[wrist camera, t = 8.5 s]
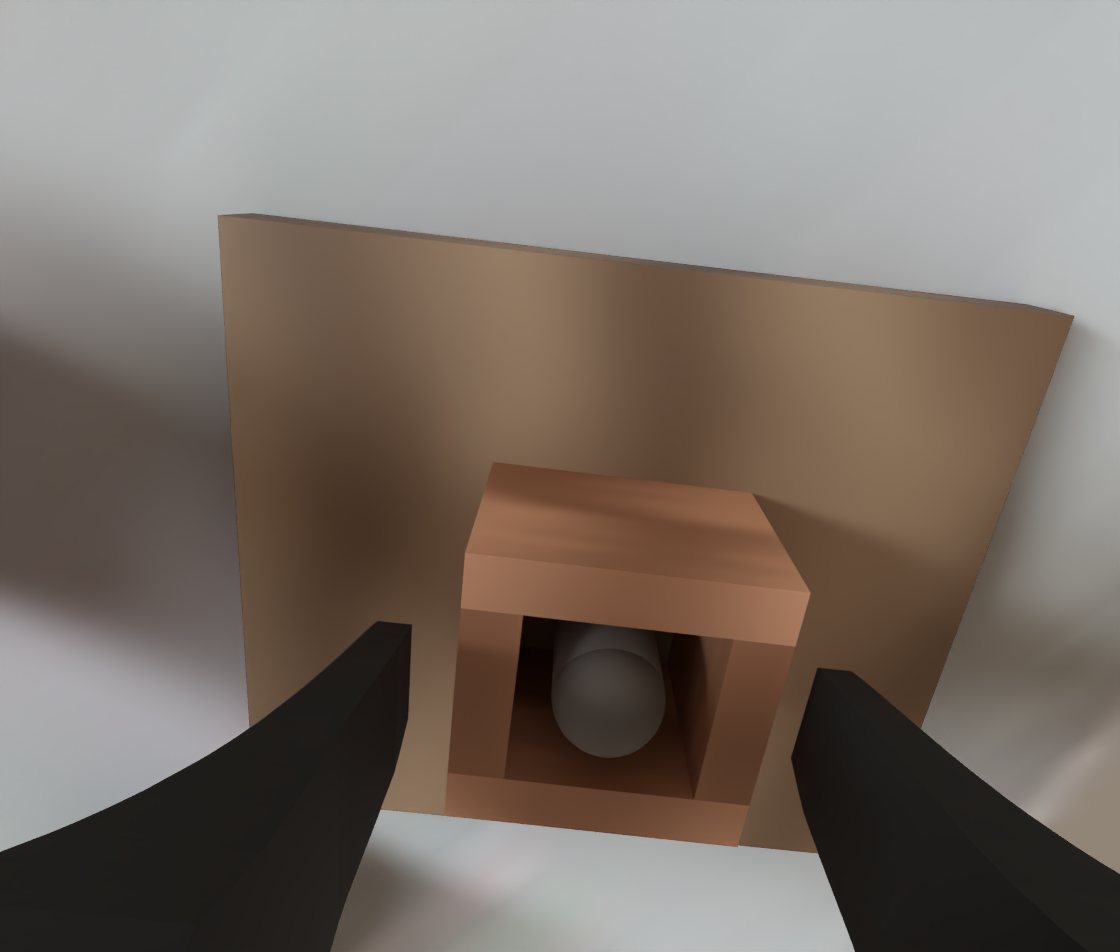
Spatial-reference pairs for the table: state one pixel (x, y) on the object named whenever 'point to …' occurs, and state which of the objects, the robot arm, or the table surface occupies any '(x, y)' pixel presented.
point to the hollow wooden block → (628, 601)
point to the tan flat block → (605, 459)
